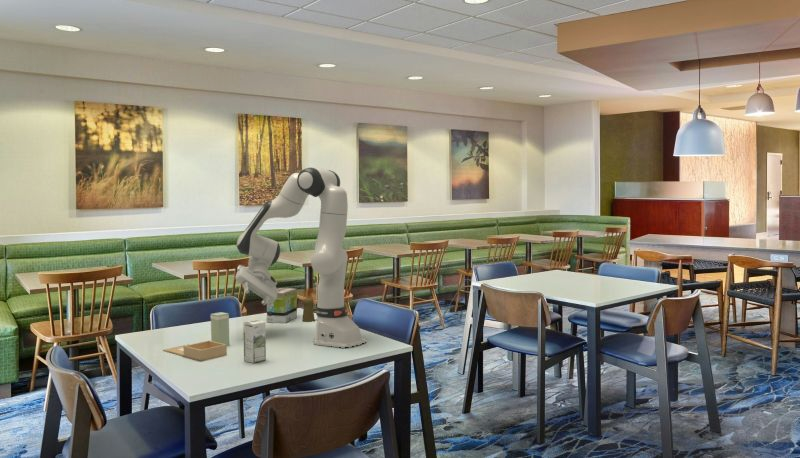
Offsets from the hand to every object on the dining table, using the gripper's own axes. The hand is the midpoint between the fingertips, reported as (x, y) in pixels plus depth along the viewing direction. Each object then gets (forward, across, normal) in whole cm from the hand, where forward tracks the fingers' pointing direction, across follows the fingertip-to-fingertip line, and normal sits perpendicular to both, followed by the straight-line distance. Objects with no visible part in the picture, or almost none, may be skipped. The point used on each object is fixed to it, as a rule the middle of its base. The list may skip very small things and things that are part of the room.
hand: (255, 297), depth 254 cm
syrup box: (+35, 0, -3) cm, 35 cm away
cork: (-22, +41, +11) cm, 48 cm away
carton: (+14, 0, +19) cm, 23 cm away
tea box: (-26, +34, +22) cm, 48 cm away
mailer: (+22, -10, +21) cm, 32 cm away
